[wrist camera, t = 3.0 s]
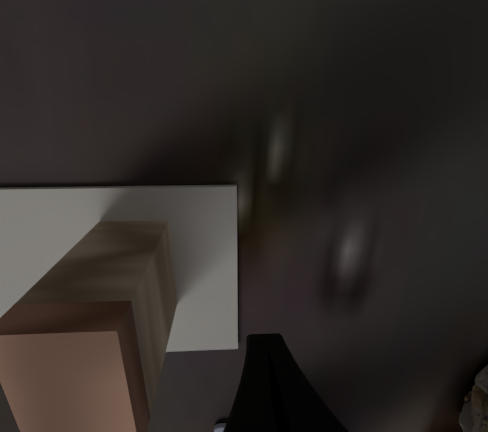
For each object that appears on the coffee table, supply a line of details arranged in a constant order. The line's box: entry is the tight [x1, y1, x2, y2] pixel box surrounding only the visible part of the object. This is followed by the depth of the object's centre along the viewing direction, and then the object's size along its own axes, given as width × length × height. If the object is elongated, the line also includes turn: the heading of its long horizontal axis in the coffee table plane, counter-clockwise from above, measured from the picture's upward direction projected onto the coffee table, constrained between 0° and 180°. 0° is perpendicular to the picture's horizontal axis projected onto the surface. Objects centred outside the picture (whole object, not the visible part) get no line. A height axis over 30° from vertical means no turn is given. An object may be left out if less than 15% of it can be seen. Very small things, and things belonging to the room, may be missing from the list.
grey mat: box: [0, 185, 238, 352], centre depth 19 cm, size 20×12×1 cm, turn 90°
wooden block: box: [0, 220, 177, 432], centre depth 14 cm, size 4×6×9 cm, turn 0°
